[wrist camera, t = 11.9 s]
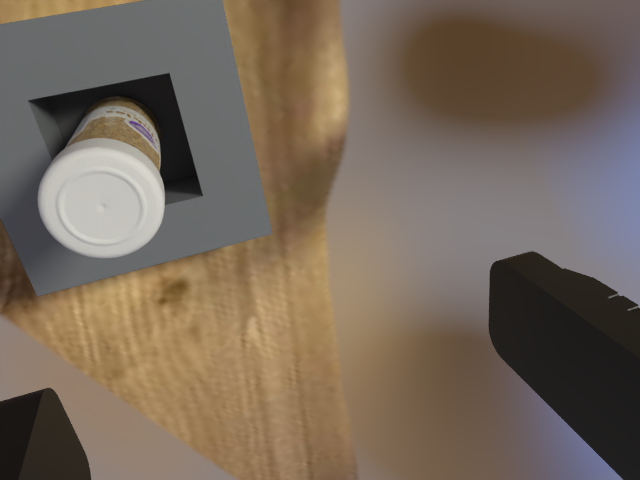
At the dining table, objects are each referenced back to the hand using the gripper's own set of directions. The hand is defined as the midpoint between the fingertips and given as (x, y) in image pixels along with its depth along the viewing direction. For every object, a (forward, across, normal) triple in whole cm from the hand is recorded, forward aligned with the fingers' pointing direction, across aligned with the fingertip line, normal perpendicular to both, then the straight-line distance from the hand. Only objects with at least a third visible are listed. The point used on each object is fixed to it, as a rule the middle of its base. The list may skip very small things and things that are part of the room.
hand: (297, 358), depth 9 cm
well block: (+27, +4, +1) cm, 27 cm away
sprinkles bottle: (+26, +4, 0) cm, 26 cm away
